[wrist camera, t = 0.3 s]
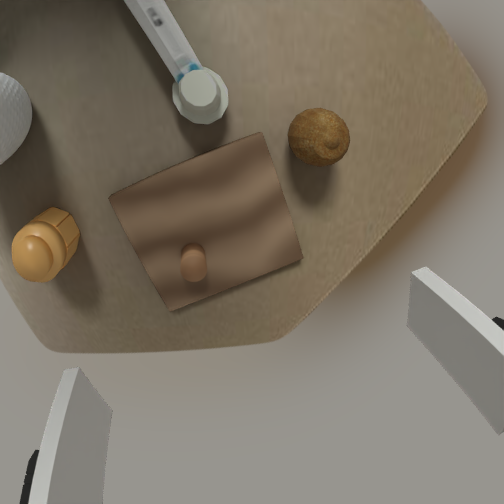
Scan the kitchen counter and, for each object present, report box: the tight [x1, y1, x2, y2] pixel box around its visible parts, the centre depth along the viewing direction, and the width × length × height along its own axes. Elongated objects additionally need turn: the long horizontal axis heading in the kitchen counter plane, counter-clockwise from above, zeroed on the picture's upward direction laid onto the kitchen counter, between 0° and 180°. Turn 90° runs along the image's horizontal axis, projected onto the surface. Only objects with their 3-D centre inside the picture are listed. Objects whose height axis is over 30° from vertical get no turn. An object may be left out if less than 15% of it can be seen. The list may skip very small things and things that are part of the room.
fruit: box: [288, 108, 350, 167], centre depth 31 cm, size 6×6×8 cm
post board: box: [108, 132, 303, 312], centre depth 34 cm, size 16×18×6 cm
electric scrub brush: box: [124, 0, 228, 124], centre depth 25 cm, size 5×7×25 cm
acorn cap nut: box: [12, 207, 80, 282], centre depth 30 cm, size 6×6×8 cm
